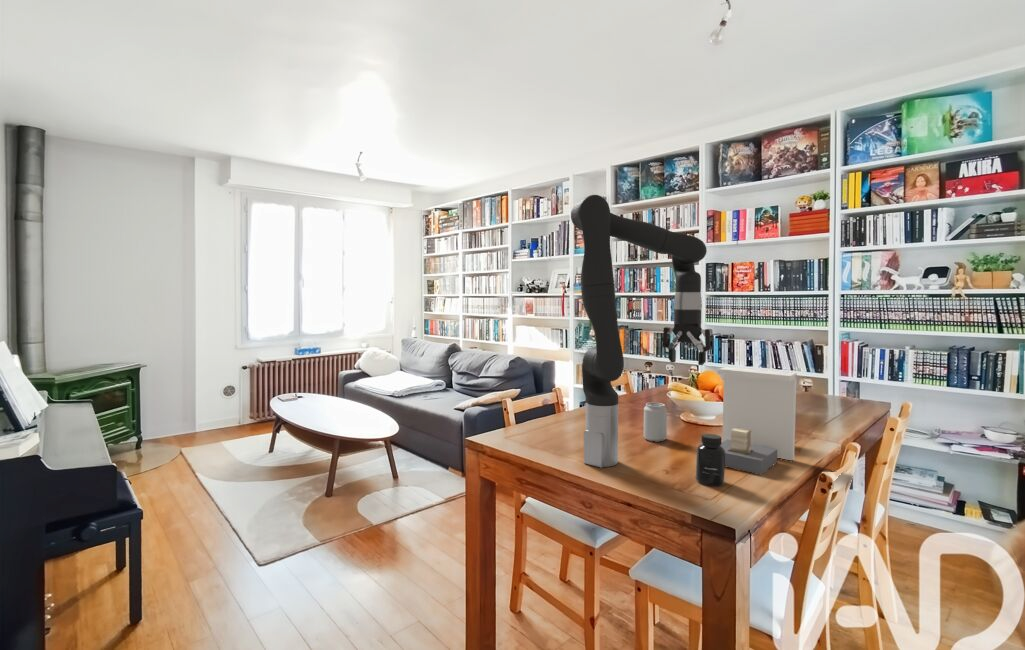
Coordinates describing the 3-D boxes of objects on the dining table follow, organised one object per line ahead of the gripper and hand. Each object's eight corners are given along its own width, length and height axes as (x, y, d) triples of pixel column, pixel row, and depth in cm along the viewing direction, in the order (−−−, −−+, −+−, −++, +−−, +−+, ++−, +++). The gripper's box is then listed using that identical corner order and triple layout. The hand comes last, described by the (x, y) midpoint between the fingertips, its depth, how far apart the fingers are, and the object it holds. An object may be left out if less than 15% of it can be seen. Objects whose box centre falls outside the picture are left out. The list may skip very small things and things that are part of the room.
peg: (745, 468, 139) (746, 432, 138) (730, 464, 141) (731, 430, 141) (750, 464, 141) (751, 429, 141) (735, 461, 144) (736, 427, 144)
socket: (761, 475, 133) (761, 460, 133) (708, 463, 142) (709, 449, 142) (777, 462, 143) (777, 448, 143) (727, 452, 153) (727, 439, 152)
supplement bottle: (707, 488, 124) (708, 440, 123) (690, 478, 131) (691, 433, 130) (730, 485, 126) (731, 438, 125) (712, 476, 132) (713, 431, 132)
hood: (787, 465, 140) (790, 375, 139) (716, 451, 154) (717, 368, 153) (794, 460, 145) (796, 373, 144) (724, 446, 159) (725, 366, 157)
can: (664, 436, 170) (664, 401, 170) (668, 442, 163) (669, 406, 162) (641, 435, 171) (642, 401, 170) (645, 442, 164) (645, 406, 163)
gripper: (658, 308, 147) (658, 362, 148) (706, 308, 137) (705, 367, 138) (670, 307, 153) (669, 360, 153) (717, 308, 143) (716, 364, 144)
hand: (686, 363), depth 146 cm, fingers open, 8 cm apart
